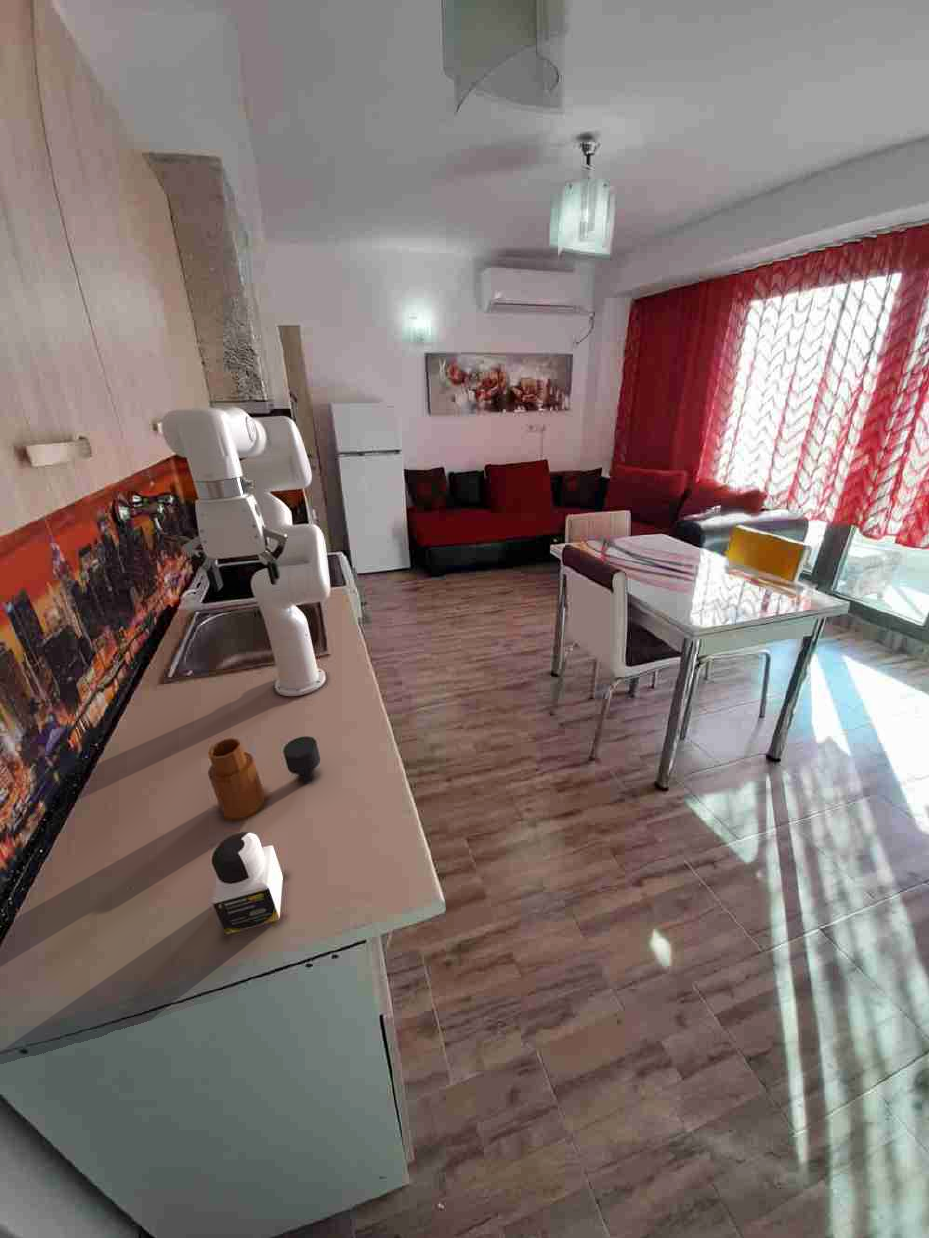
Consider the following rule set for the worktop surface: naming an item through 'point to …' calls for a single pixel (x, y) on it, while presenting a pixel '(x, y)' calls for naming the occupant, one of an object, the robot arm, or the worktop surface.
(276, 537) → the robot arm
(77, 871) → the worktop surface
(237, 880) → the medicine bottle
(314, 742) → the stopper
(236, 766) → the amber bottle
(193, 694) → the worktop surface
